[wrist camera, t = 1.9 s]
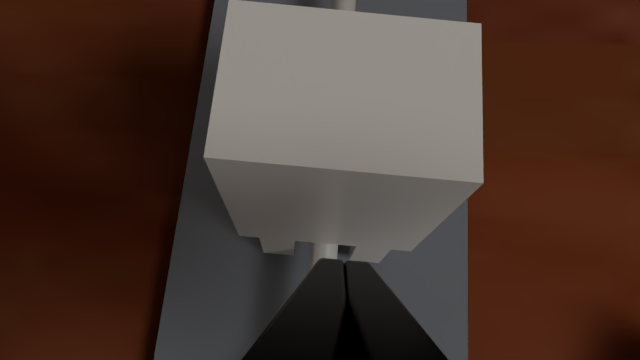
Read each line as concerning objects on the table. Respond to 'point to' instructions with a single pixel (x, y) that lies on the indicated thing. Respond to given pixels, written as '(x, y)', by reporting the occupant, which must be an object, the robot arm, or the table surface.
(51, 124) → the table surface
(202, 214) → the flat grey panel
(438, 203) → the stepped pale block
